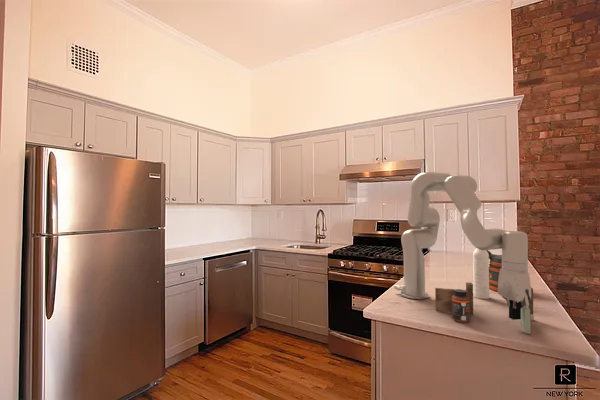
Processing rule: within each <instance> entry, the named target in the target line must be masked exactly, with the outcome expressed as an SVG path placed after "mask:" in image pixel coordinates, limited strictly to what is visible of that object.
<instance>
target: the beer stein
mask: <svg viewBox="0 0 600 400" xmlns="http://www.w3.org/2000/svg"><path fill="white" fill-rule="evenodd" d="M486 251H487V252H488V254H489V290H491V291H496V292H498V279H499V272H500V269H501V268H502V254H493V253H492V252H491V250H486Z"/></svg>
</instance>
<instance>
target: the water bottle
mask: <svg viewBox="0 0 600 400" xmlns="http://www.w3.org/2000/svg"><path fill="white" fill-rule="evenodd" d="M489 264H490V259H489V254H488V252H487V251H486V250H480V249H477V248H476V247H475V249H474V251H473V252H472V274H473V275H472V278H473V279H472V282H473V283H472V284H473V298H477V299H479V300H480V299H482V300H487V299H490V289H489Z"/></svg>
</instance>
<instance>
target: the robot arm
mask: <svg viewBox="0 0 600 400" xmlns="http://www.w3.org/2000/svg"><path fill="white" fill-rule="evenodd" d="M477 188H478V183H477V181H476V180H475V178H474V177H472V176H470V175H463V174H462V175H461V174H456V173H455V174H454V173H448V172H436V171H435V172H434V171H433V172H432V171H430V172H429V171H428V172H421V173H418V174H417V175H416V176H415V177H414V178H413V179H412V181H411V185H410V197H409V198H410V199H409V206H408V213H407V223H408V225H409V226H410V227H413V228H411V229H408V230H405V231H404V232H403V233H402V235H401V237H400V238H401V239H400V241H401V247H402V253H403V284H401V285H396V284H395V285H394V289H393V290H396V291H400V295H401V296H402V297H404V298H407V299H412V300H425V299H428V298H429V296H430V294H429V293H428V292H427V291H426V266H425V264H426V262H425V255H424V253H423V251H422V249H430V248H432V247H433V246H435V244H436V243H437V238H438V233H439V228H440V221H441V219H440V216H441V215H440V213H439V211H438V210H437V209H436V207H432V206H430V202H431V201H430V198H431V197H430V195H429V192H445V193H446V194H447V195H448V197H449V198H450V199H451V201H452V203H453V204H454V206H455V207H456V209H457V210H458V212H459V213H460V224H461V225H460V226H461V228H462V231H463V233H464V235H465V236H466V238H467V239H468V240H469V241H468V242H470V244H471V245H472V246H474V247H475V249H476V248H477V249H480V250H488V251H491V250H499V249H500V250H501V255H502V268H501V269H500V272H499V279H498V291H497V293H498V294H499V296H501V298H503V299H504V300H505V301H506V305H507V307H508V318H509V319H511V320H513V321H518V320H520V319H521V308H522V307H523V306H529V301H530V300H531V288H532V285H531V284H532V283H531V279H530V278H531V277H530V274H529V273H530V272H529V268H528V266H529V262H528V260H529V259H528V257H529V256H528V255H529V254H528V251H529V250H528V249H529V247H528V246H529V245H528V243H529V242H528V234H527V233H526V232H523V231H519V230H517V231H516V230H506V229H500V228H488V229H487V228H486V229H485V227H484V226H483V224H482V223H481V222H480V220H479V217H478V210H480V208H481V207H482V202H481V199H480V198H479V197H478V196H477V195H476V193H475V192H476V191H477Z"/></svg>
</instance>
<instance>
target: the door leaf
mask: <svg viewBox="0 0 600 400" xmlns="http://www.w3.org/2000/svg"><path fill="white" fill-rule="evenodd" d="M534 319H535V318H534V313H533V314H530V309H529V307H528V306H523V307H522V308H521V319H519V320H520V323H521V325H522V326H521V327H522V329H523V332H524V334H529V335H531V322H534ZM530 320H532V321H530Z"/></svg>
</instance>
